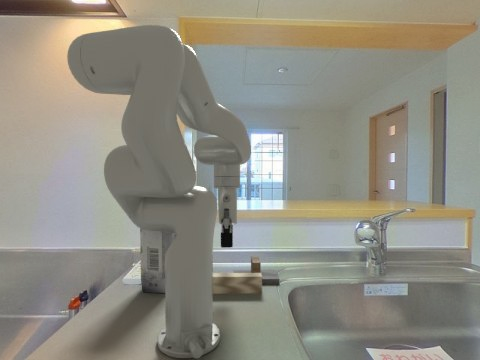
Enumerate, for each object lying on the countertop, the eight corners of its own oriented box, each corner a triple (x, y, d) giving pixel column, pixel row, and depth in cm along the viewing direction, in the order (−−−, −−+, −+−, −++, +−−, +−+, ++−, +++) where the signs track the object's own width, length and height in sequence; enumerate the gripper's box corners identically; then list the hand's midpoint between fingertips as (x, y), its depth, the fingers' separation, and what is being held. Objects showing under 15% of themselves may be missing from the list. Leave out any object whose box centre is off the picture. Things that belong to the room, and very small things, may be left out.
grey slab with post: (279, 283, 90) (279, 262, 90) (233, 284, 90) (233, 262, 89) (275, 274, 98) (275, 254, 98) (233, 274, 98) (233, 255, 97)
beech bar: (260, 289, 86) (260, 272, 86) (261, 294, 83) (261, 276, 83) (192, 290, 86) (192, 273, 86) (190, 294, 83) (190, 277, 83)
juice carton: (179, 280, 92) (179, 194, 91) (168, 295, 82) (167, 197, 81) (152, 279, 93) (151, 194, 92) (137, 293, 83) (136, 197, 82)
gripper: (240, 184, 75) (241, 251, 76) (239, 180, 92) (239, 234, 93) (211, 185, 75) (211, 251, 76) (215, 180, 92) (215, 234, 93)
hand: (227, 242), depth 85 cm, fingers open, 9 cm apart
